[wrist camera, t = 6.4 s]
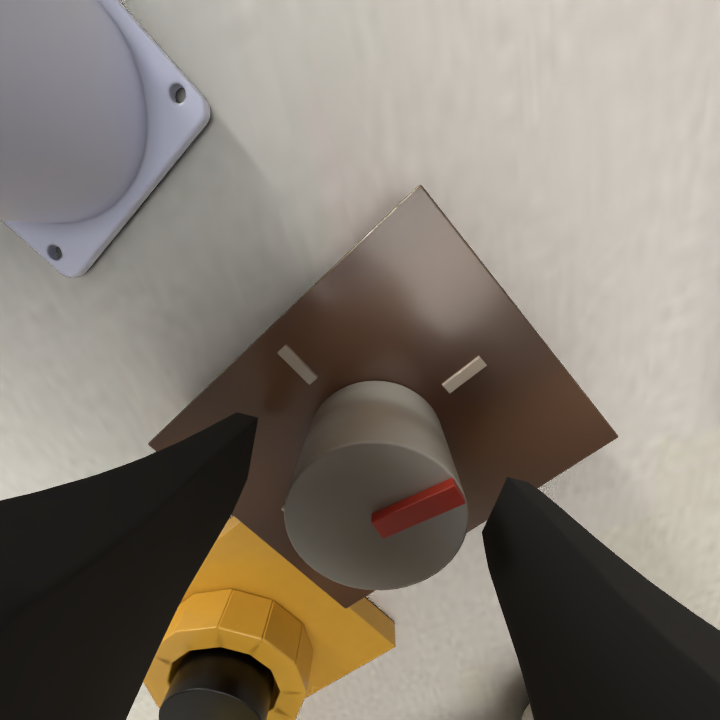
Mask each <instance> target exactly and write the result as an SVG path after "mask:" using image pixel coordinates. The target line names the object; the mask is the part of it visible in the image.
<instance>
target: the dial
mask: <svg viewBox="0 0 720 720" xmlns="http://www.w3.org/2000/svg"><path fill="white" fill-rule="evenodd" d="M284 521H285V527H286V531H287V534H288V537H289V539H290V541H291V543H292V545H293V547H294V549H295V550H296V551H297V553H298V554H299V556H300V557H301V558H302V559H303V560H304V561H305V562H306V563H307V564H308V565H309V566H310V567H312V568H313V569H314V570H315V571H317V572H318V573H320V574H321V575H323V576H325V577H327V578H328V579H330V580H332V581H335V582H337V583H340V584H342V585H346V586H349V587H353V588H359V589H365V590H391V589H398V588H403V587H407V586H410V585H413V584H416V583H419V582H421V581H423V580H426V579H428V578H429V577H431V576H433V575H434V574H436V573H437V572H439V571H440V570H441V569H443V568H444V567H445V566H446V565H447V564H448V563H449V562H450V561H451V560H452V559H453V558H454V556H455V555H456V553H457V552H458V551H459V549H460V547H461V545H462V543H463V541H464V538H465V535H466V532H467V527H468V505H467V501H466V497H465V494H464V491H463V488H462V485H461V482H460V479H459V477H458V474H457V471H456V468H455V465H454V462H453V459H452V456H451V453H450V450H449V447H448V444H447V441H446V438H445V436H444V433H443V430H442V427H441V424H440V421H439V419H438V417H437V415H436V413H435V411H434V410H433V408H432V407H431V406H430V405H429V404H428V402H427V401H426V400H425V399H423V398H422V397H421V396H420V395H419V394H417V393H416V392H414V391H412V390H411V389H409V388H406V387H404V386H402V385H399V384H396V383H391V382H386V381H364V382H359V383H355V384H352V385H349V386H346V387H344V388H342V389H340V390H338V391H337V392H335V393H333V394H332V395H331V396H330V397H328V398H327V399H326V400H325V401H324V402H323V403H322V404H321V406H320V407H319V408H318V410H317V411H316V413H315V415H314V417H313V419H312V422H311V425H310V428H309V431H308V434H307V436H306V439H305V442H304V445H303V448H302V451H301V454H300V457H299V460H298V463H297V466H296V468H295V471H294V474H293V477H292V480H291V483H290V486H289V489H288V492H287V495H286V498H285V504H284Z"/></svg>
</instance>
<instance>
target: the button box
mask: <svg viewBox="0 0 720 720" xmlns="http://www.w3.org/2000/svg"><path fill="white" fill-rule="evenodd" d="M217 647H222V648H226V649H230V650H234V651H238V652H242V653H245V654H249V655H251V656H252V657H254V658H255V659H256V660H258V661H259V662H260V663H262V664H263V665H265V666H266V667H267V668H269V669H270V670H271V672H272V674H273V677H274V688H273V693H272V697H271V702H270V706H269V711H268V715H267V719H266V720H295V719H296V717H297V715H298V713H299V710H300V708H301V706H302V703H303V701H304V699H305V698H306V697H308V696H310V695H312V694H313V693H315V692H317V691H319V690H320V689H322V688H324V687H326V686H327V685H329V684H331V683H333V682H334V681H336V680H338V679H340V678H341V677H343V676H345V675H347V674H348V673H350V672H352V671H354V670H355V669H357V668H359V667H361V666H362V665H364V664H366V663H368V662H369V661H371V660H373V659H375V658H376V657H378V656H380V655H382V654H383V653H385V652H387V651H389V650H390V649H392V648H394V647H395V625H394V622H393V621H392V620H391V619H390V618H388V617H387V616H386V615H385V614H384V613H383V612H381V611H380V610H379V609H378V608H377V607H376V606H374V605H373V604H372V603H371V602H370V601H369V600H367V599H366V598H365V597H364V598H363V599H361V600H359V601H358V602H356V603H355V604H353V605H352V606H350V607H348V608H347V609H345V608H344V607H342V606H341V605H340V604H339V603H338V602H336V601H335V600H334V599H333V598H332V597H330V596H329V595H328V594H327V593H326V592H324V591H323V590H322V589H321V588H320V587H318V586H317V585H316V584H315V583H314V582H312V581H311V580H310V579H309V578H308V577H306V576H305V575H304V574H303V573H302V572H300V571H299V570H298V569H297V568H296V567H294V566H293V565H292V564H291V563H290V562H288V561H287V560H286V559H285V558H284V557H282V556H281V555H280V554H279V553H278V552H276V551H275V550H274V549H273V548H272V547H270V546H269V545H268V544H267V543H266V542H264V541H263V540H262V539H261V538H260V537H258V536H257V535H256V534H255V533H254V532H252V531H251V530H250V529H249V528H248V527H246V526H245V525H244V524H243V523H242V522H240V521H239V520H238V519H237V518H236V517H234V516H233V517H231V518H230V519H229V520H228V521H227V523H226V525H225V526H224V528H223V530H222V531H221V533H220V535H219V537H218V538H217V540H216V542H215V543H214V545H213V547H212V549H211V550H210V552H209V554H208V555H207V557H206V559H205V560H204V562H203V564H202V566H201V567H200V569H199V571H198V572H197V574H196V576H195V577H194V579H193V581H192V583H191V584H190V586H189V588H188V590H187V591H186V593H185V595H184V597H183V599H182V601H181V603H180V604H179V606H178V608H177V610H176V613H175V615H174V617H173V619H172V621H171V623H170V625H169V627H168V629H167V631H166V634H165V636H164V638H163V640H162V642H161V644H160V646H159V648H158V650H157V653H156V655H155V657H154V659H153V661H152V663H151V666H150V668H149V670H148V672H147V674H146V676H145V679H144V681H143V683H144V684H145V686H146V688H147V689H148V691H149V693H150V694H151V696H152V698H153V699H154V701H155V703H156V704H157V706H158V707H159V708H160V707H161V705H162V702H163V700H164V698H165V696H166V694H167V691H168V689H169V687H170V685H171V683H172V680H173V678H174V676H175V674H176V672H177V669H178V667H179V665H180V663H181V661H182V659H183V658H184V657H185V656H186V655H187V654H188V653H189V652H191V651H192V650H199V649H208V648H217Z"/></svg>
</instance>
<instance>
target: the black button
mask: <svg viewBox="0 0 720 720" xmlns="http://www.w3.org/2000/svg"><path fill="white" fill-rule="evenodd" d="M273 688H274V677H273V674H272V672H271V670H270V669H269V668H267V667H266V666H265V665H263V664H262V663H260V662H259V661H258V660H256V659H255V658H254V657H252V656H251V655H249V654H245V653H242V652H238V651H234V650H230V649H226V648H222V647H217V648H208V649H199V650H192V651H191V652H189V653H188V654H187V655H186V656H185V657H184V658H183V659H182V661H181V663H180V665H179V667H178V669H177V672H176V674H175V676H174V678H173V680H172V683H171V685H170V687H169V689H168V691H167V694H166V696H165V698H164V700H163V702H162V705H161V707H160V710H159V720H266V719H267V715H268V711H269V706H270V702H271V697H272V693H273Z"/></svg>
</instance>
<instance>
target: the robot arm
mask: <svg viewBox="0 0 720 720" xmlns="http://www.w3.org/2000/svg"><path fill="white" fill-rule="evenodd" d="M180 88H184V89H185V92H186V97H185V100H184V101H183V102H182V103H177V101H176V96H175V94H176V92H177V90H178V89H180ZM210 113H211V111H210V107H209V104H208V102H207V100H206V99H205V98H204V96H203V95H202V94H201V93H200V92H199V91H198V90H197V88H196V87H195V86H194V85H193V84H192V83H191V82H190V81H189V79H188V78H187V77H186V76H185V75H184V74H183V73H182V72H181V70H180V69H179V68H178V67H177V66H176V65H175V64H174V62H173V61H172V60H171V59H170V58H169V57H168V56H167V55H166V53H165V52H164V51H163V50H162V49H161V48H160V47H159V45H158V44H157V43H156V42H155V41H154V40H153V39H152V38H151V36H150V35H149V34H148V33H147V32H146V31H145V30H144V28H143V27H142V26H141V25H140V24H139V23H138V22H137V21H136V19H135V18H134V17H133V16H132V15H131V14H130V13H129V12H128V10H127V9H126V8H125V7H124V6H123V5H122V4H121V2H120V1H119V0H0V221H3V222H4V223H5V224H6V225H7V226H9V227H10V228H11V229H12V230H13V231H14V232H15V233H16V234H17V235H19V236H20V237H21V238H22V239H23V240H24V241H25V242H26V243H27V244H28V245H30V246H31V247H32V248H33V249H34V250H35V251H36V252H37V253H38V254H40V255H41V256H42V257H43V258H44V259H45V260H46V261H47V262H48V263H50V264H51V265H52V266H53V267H54V268H55V269H56V270H57V271H58V272H60V273H61V274H62V275H64V276H66V277H70V278H71V277H78V276H82V275H84V274H85V273H86V272H87V271H88V269H89V268H90V267H91V266H92V264H93V263H94V262H95V261H96V260H97V258H98V257H99V256H100V255H101V253H102V252H103V251H104V250H105V249H106V247H107V246H108V245H109V244H110V242H111V241H112V240H113V239H114V238H115V236H116V235H117V234H118V233H119V231H120V230H121V229H122V228H123V226H124V225H125V224H126V223H127V222H128V220H129V219H130V218H131V217H132V215H133V214H134V213H135V212H136V211H137V209H138V208H139V207H140V206H141V204H142V203H143V202H144V201H145V199H146V198H147V197H148V196H149V195H150V193H151V192H152V191H153V190H154V188H155V187H156V186H157V185H158V184H159V182H160V181H161V180H162V179H163V177H164V176H165V175H166V174H167V173H168V171H169V170H170V169H171V168H172V166H173V165H174V164H175V163H176V161H177V160H178V159H179V158H180V157H181V155H182V154H183V153H184V152H185V150H186V149H187V148H188V147H189V146H190V144H191V143H192V142H193V141H194V139H195V138H196V137H197V136H198V134H199V133H200V132H201V131H202V130H203V128H204V127H205V126H206V125H207V123H208V121H209V119H210ZM57 246H58V247H59V248H60V250H61V251H62V257H61V258H60V257H59V256H58V254H57V251H56V249H57ZM257 422H258V417H254V416H250V415H246V414H242V413H238V412H236V413H234V414H232V415H230V416H228V417H226V418H224V419H223V420H221V421H219V422H217V423H215V424H213V425H211V426H210V427H208V428H206V429H204V430H202V431H200V432H198V433H196V434H194V435H192V436H190V437H188V438H186V439H184V440H182V441H180V442H178V443H175V444H173V445H171V446H169V447H166V448H164V449H162V450H160V451H157V452H155V453H153V454H151V455H149V456H146V457H144V458H141V459H139V460H136V461H134V462H131V463H129V464H126V465H123V466H120V467H118V468H115V469H112V470H109V471H106V472H103V473H100V474H97V475H94V476H91V477H88V478H84V479H81V480H77V481H74V482H70V483H67V484H63V485H60V486H56V487H53V488H49V489H46V490H42V491H39V492H35V493H31V494H27V495H23V496H18V497H14V498H10V499H6V500H1V501H0V720H126V718H127V716H128V713H129V711H130V709H131V707H132V705H133V702H134V700H135V698H136V696H137V694H138V692H139V689H140V687H141V685H142V683H143V681H144V679H145V676H146V674H147V672H148V670H149V668H150V666H151V663H152V661H153V659H154V657H155V655H156V653H157V650H158V648H159V646H160V644H161V642H162V640H163V638H164V636H165V634H166V631H167V629H168V627H169V625H170V623H171V621H172V619H173V617H174V615H175V613H176V610H177V608H178V606H179V604H180V603H181V601H182V599H183V597H184V595H185V593H186V591H187V590H188V588H189V586H190V584H191V583H192V581H193V579H194V577H195V576H196V574H197V572H198V571H199V569H200V567H201V566H202V564H203V562H204V560H205V559H206V557H207V555H208V554H209V552H210V550H211V549H212V547H213V545H214V543H215V542H216V540H217V538H218V537H219V535H220V533H221V531H222V530H223V528H224V526H225V525H226V523H227V521H228V519H229V518H230V516H231V514H232V512H233V511H234V508H235V506H236V504H237V502H238V499H239V497H240V495H241V493H242V490H243V488H244V486H245V483H246V481H247V479H248V474H249V468H250V462H251V456H252V451H253V445H254V439H255V434H256V428H257ZM482 535H483V541H484V547H485V553H486V558H487V563H488V568H489V571H490V574H491V578H492V581H493V584H494V587H495V590H496V593H497V597H498V600H499V603H500V606H501V609H502V612H503V615H504V618H505V621H506V624H507V627H508V630H509V633H510V636H511V639H512V642H513V645H514V648H515V651H516V654H517V657H518V661H519V664H520V667H521V671H522V674H523V678H524V681H525V685H526V689H527V694H528V698H529V702H530V706H531V711H532V715H533V719H534V720H720V631H719V630H718V629H716V628H715V627H713V626H712V625H710V624H709V623H707V622H706V621H705V620H703V619H702V618H700V617H699V616H697V615H696V614H694V613H693V612H691V611H690V610H689V609H687V608H686V607H684V606H683V605H682V604H680V603H679V602H677V601H676V600H675V599H673V598H672V597H671V596H669V595H668V594H666V593H665V592H664V591H662V590H661V589H659V588H658V587H657V586H655V585H654V584H653V583H651V582H650V581H649V580H647V579H646V578H645V577H643V576H642V575H641V574H640V573H638V572H637V571H636V570H635V569H633V568H632V567H631V566H630V565H628V564H627V563H626V562H625V561H623V560H622V559H621V558H620V557H618V556H617V555H616V554H615V553H613V552H612V551H611V550H610V549H608V548H607V547H606V546H605V545H604V544H602V543H601V542H600V541H599V540H598V539H596V538H595V537H594V536H593V535H592V534H591V533H589V532H588V531H587V530H586V529H585V528H584V527H582V526H581V525H580V524H579V523H578V522H577V521H575V520H574V519H573V518H572V517H571V516H570V515H568V514H567V513H566V512H565V511H564V510H563V509H561V508H560V507H559V506H558V505H557V504H556V503H554V502H553V501H552V500H551V499H550V498H548V497H547V496H546V495H545V494H544V493H542V492H541V491H540V490H538V489H537V488H536V487H534V486H533V485H532V484H530V483H529V482H526V481H522V480H518V479H514V478H510V477H507V479H506V481H505V483H504V485H503V487H502V490H501V492H500V494H499V496H498V498H497V501H496V503H495V505H494V507H493V509H492V512H491V514H490V516H489V518H488V520H487V523H486V525H485V527H484V529H483V531H482Z"/></svg>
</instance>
